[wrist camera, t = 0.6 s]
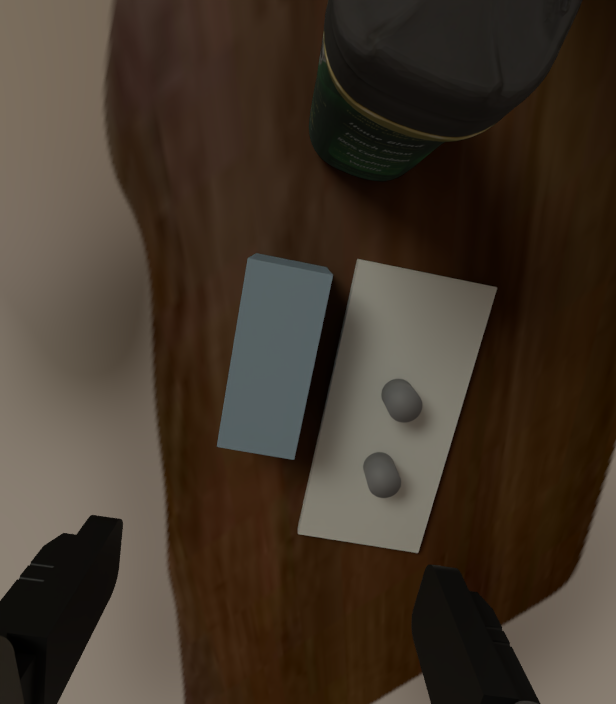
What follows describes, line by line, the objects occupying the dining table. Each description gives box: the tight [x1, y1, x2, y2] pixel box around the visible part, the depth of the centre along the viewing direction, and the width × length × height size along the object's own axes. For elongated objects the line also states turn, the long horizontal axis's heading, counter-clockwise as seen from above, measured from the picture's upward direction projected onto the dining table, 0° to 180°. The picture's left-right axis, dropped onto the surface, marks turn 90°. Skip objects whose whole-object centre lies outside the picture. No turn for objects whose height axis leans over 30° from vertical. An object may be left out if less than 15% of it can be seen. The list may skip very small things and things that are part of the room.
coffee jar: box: [309, 0, 582, 181], centre depth 21 cm, size 10×8×19 cm
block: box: [217, 253, 333, 460], centre depth 31 cm, size 12×5×6 cm, turn 169°
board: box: [298, 259, 497, 553], centre depth 34 cm, size 22×10×3 cm, turn 169°
